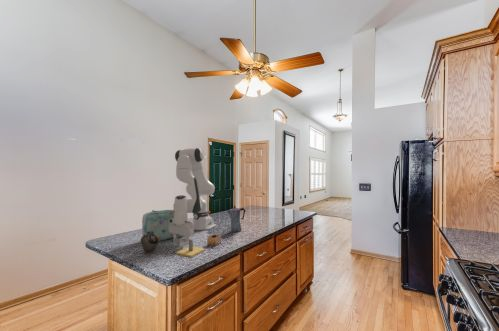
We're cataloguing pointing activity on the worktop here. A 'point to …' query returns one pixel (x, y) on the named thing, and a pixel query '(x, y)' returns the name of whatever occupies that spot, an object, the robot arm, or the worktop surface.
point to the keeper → (190, 250)
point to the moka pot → (235, 218)
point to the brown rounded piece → (214, 240)
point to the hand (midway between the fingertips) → (180, 240)
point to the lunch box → (158, 224)
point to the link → (180, 240)
